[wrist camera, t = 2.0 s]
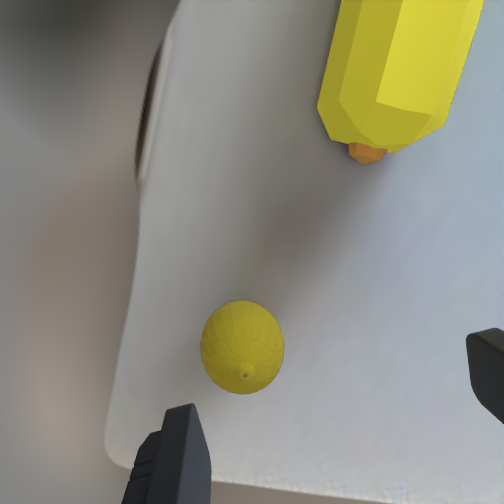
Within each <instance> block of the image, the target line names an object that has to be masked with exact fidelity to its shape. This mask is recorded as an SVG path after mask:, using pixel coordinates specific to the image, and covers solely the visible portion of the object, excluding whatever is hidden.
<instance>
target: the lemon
mask: <svg viewBox="0 0 504 504" xmlns="http://www.w3.org/2000/svg"><path fill="white" fill-rule="evenodd" d="M200 347H201V357H202V361H203V364H204V366H205V369H206V371H207V373H208V375H209V376H210V378H211V379H212V380H213V382H214V383H215V384H217V385H218V386H219V387H221V388H222V389H224V390H226V391H228V392H231V393H236V394H250V393H254V392H257V391H259V390H261V389H263V388H265V387H266V386H267V385H268V384H270V383H271V382H272V381H273V379H274V378H275V376H276V375H277V373H278V372H279V369H280V367H281V364H282V361H283V355H284V340H283V335H282V331H281V328H280V326H279V324H278V322H277V320H276V319H275V318H274V316H273V315H272V314H271V313H270V312H269V311H268V310H267V309H265V308H264V307H262V306H261V305H259V304H256V303H254V302H251V301H234V302H230V303H228V304H225V305H223V306H222V307H220V308H219V309H218V310H216V311H215V312H214V313H213V314H212V315H211V317H210V318H209V319H208V321H207V323H206V325H205V327H204V329H203V332H202V337H201V343H200Z"/></svg>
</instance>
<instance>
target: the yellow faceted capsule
mask: <svg viewBox="0 0 504 504" xmlns="http://www.w3.org/2000/svg"><path fill="white" fill-rule="evenodd" d="M483 4H484V0H342V1H341V6H340V10H339V14H338V18H337V23H336V27H335V31H334V36H333V40H332V44H331V48H330V53H329V57H328V61H327V66H326V70H325V74H324V78H323V83H322V87H321V91H320V96H319V100H318V104H317V109H318V112H319V114H320V116H321V118H322V121H323V123H324V125H325V128H326V130H327V132H328V134H329V137H330V139H331V140H334V141H338V142H342V143H346V144H349V152H350V156H351V157H353V158H354V159H355V160H357V161H358V162H360V163H361V164H363V165H365V164H369V163H373V162H378V161H380V160H381V159H382V157H383V156H384V154H385V153H386V152H389V153H395V152H397V151H399V150H401V149H402V148H404V147H406V146H408V145H410V144H412V143H414V142H415V141H417V140H419V139H421V138H422V137H424V136H426V135H428V134H429V133H431V132H433V131H435V130H436V129H438V128H440V127H442V126H443V125H445V123H446V119H447V116H448V113H449V110H450V107H451V104H452V101H453V98H454V95H455V92H456V89H457V86H458V82H459V79H460V76H461V73H462V70H463V67H464V64H465V61H466V58H467V55H468V52H469V49H470V45H471V42H472V39H473V36H474V33H475V30H476V27H477V24H478V21H479V18H480V15H481V12H482V8H483Z"/></svg>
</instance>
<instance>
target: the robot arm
mask: <svg viewBox="0 0 504 504" xmlns="http://www.w3.org/2000/svg"><path fill="white" fill-rule="evenodd" d="M466 346H467V355H468V363H469V372H470V380H471V385H472V389H473V391H474V393H475V395H476V397H477V399H478V400H479V402H480V403H481V404H482V405H483V406H484V407H485V408H486V409H487V410H489V411H490V412H491V413H492V414H493V415H494V416H495V417H496V418H497V419H499V420H500V421H501V422H502V423H503V424H504V331H502V330H501V329H498V328H491V329H487V330H484V331H480V332H476V333H472V334H469V335H468V336H467V338H466ZM210 495H211V461H210V455H209V450H208V447H207V443H206V440H205V437H204V433H203V430H202V427H201V423H200V420H199V417H198V413H197V410H196V407H195V405H194V404H193V403H191V404H187V405H183V406H179V407H175V408H171V409H167V410H166V413H165V417H164V421H163V425H162V429H161V430H160V431H156V432H152V433H150V434H149V436H148V437H147V438H146V440H145V441H144V442H143V444H142V445H141V446H140V448H139V450H138V453H137V456H136V459H135V462H134V467H133V469H132V472H131V475H130V481H129V482H128V484H127V488H126V491H125V494H124V497H123V500H122V504H210Z"/></svg>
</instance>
